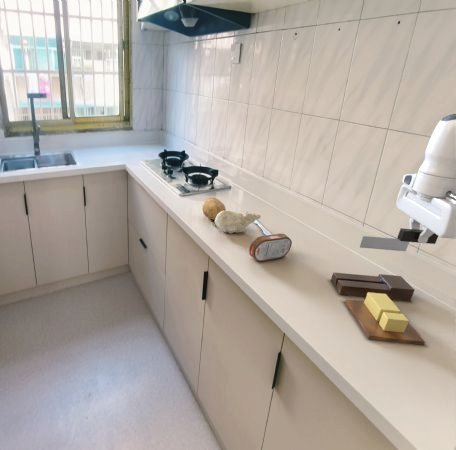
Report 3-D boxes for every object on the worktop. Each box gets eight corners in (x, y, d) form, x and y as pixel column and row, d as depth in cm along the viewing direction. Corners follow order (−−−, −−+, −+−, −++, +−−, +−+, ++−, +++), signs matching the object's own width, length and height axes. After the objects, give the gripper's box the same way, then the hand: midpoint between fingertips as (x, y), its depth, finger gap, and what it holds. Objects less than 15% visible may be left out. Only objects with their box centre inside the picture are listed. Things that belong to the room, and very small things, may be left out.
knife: (426, 251, 86) (434, 230, 84) (430, 254, 84) (439, 233, 82) (358, 245, 88) (364, 225, 85) (361, 248, 86) (367, 228, 84)
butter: (381, 304, 88) (385, 293, 87) (396, 322, 82) (400, 311, 80) (363, 303, 89) (367, 292, 87) (376, 320, 82) (381, 309, 81)
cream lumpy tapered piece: (205, 234, 131) (229, 223, 118) (205, 217, 133) (228, 204, 121) (237, 241, 137) (263, 231, 124) (236, 225, 139) (262, 213, 127)
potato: (205, 225, 134) (207, 206, 131) (198, 212, 147) (199, 194, 144) (229, 225, 135) (231, 206, 132) (220, 212, 148) (222, 195, 145)
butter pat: (398, 325, 81) (403, 313, 80) (404, 332, 79) (409, 320, 77) (378, 323, 81) (383, 311, 80) (383, 330, 79) (388, 318, 78)
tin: (284, 253, 115) (289, 231, 111) (290, 257, 112) (295, 235, 109) (246, 259, 110) (250, 236, 107) (252, 264, 107) (256, 240, 104)
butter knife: (266, 235, 126) (273, 235, 126) (245, 211, 148) (251, 211, 148) (265, 236, 126) (273, 236, 127) (245, 212, 148) (251, 212, 148)
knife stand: (396, 287, 98) (400, 275, 97) (410, 301, 92) (415, 289, 90) (330, 280, 100) (333, 269, 99) (339, 294, 94) (343, 283, 92)
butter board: (391, 307, 89) (392, 303, 89) (423, 345, 77) (425, 341, 76) (344, 302, 90) (345, 299, 90) (368, 339, 78) (369, 335, 77)
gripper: (486, 201, 69) (459, 260, 74) (425, 175, 87) (408, 224, 93) (452, 199, 69) (428, 258, 75) (400, 173, 88) (383, 222, 94)
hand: (416, 239), depth 84 cm, fingers closed on knife, 2 cm apart
